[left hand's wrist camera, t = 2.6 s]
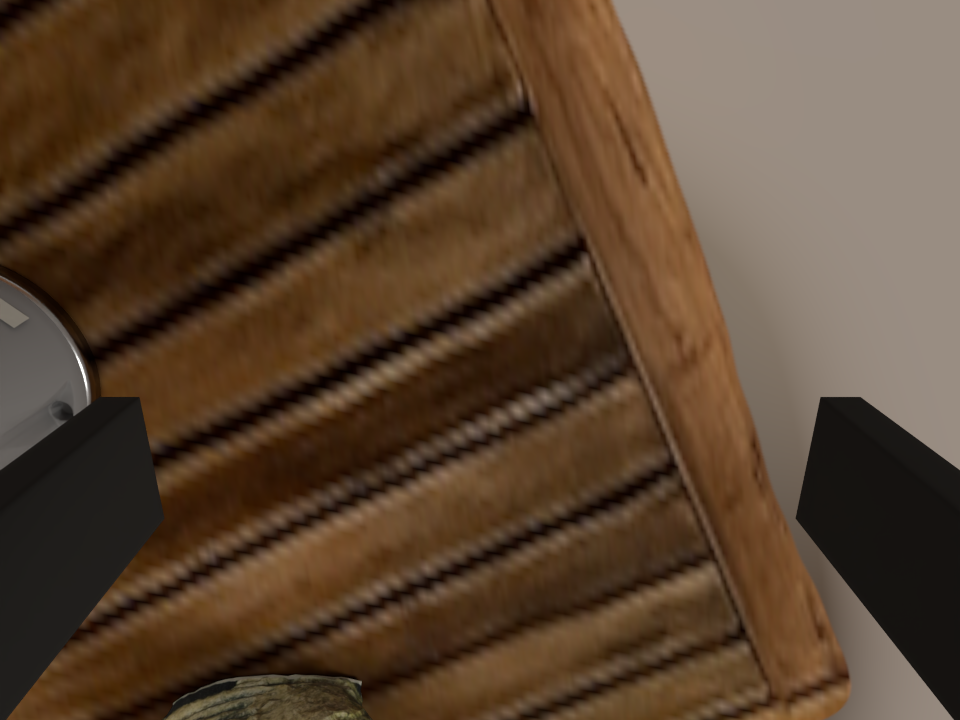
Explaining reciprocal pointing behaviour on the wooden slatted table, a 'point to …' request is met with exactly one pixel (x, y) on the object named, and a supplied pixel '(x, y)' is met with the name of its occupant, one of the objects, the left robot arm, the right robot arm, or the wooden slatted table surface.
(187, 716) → the fossil
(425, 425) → the wooden slatted table surface
